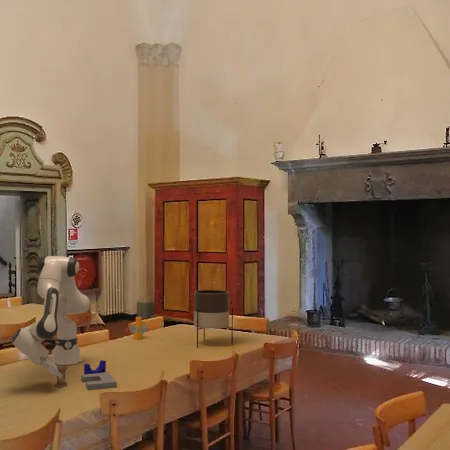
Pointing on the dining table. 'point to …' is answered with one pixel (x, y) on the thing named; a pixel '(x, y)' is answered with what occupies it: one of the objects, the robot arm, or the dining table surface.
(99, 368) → the cable clip
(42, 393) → the dining table surface
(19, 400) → the dining table surface
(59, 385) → the bobbin
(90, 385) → the notched board
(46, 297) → the robot arm
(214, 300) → the planter
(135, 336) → the orange post with rings
